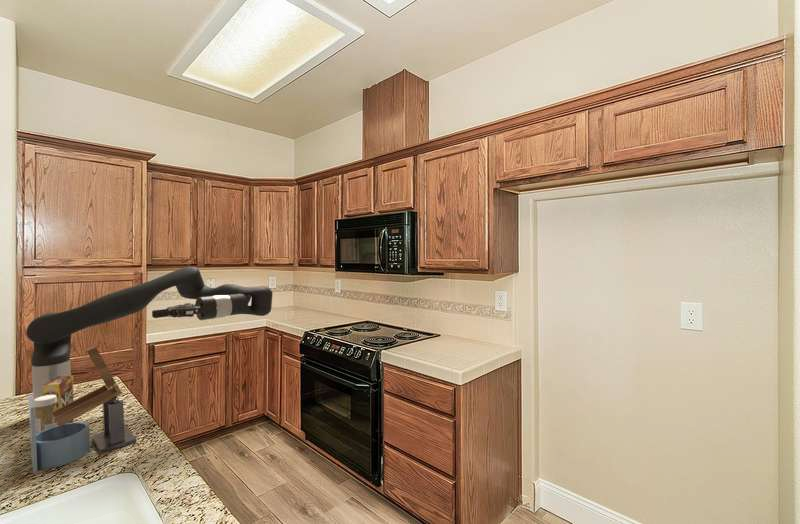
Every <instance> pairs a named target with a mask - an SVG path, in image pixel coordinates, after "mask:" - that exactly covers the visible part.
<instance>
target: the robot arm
mask: <svg viewBox="0 0 800 524" xmlns="http://www.w3.org/2000/svg"><path fill="white" fill-rule="evenodd" d="M173 287H175V288H176V291H177V293H178V294H179V295H180V296H181V297H182V298H185V299H189V300H195V304H194V303H190V302H188V303H184V304H177V305H172V306H168V307H166V308H162V309H155V310H152V311H151V313H152V314H151V316H152V318H153V319H159V318H185V317H187V318H192V317H195V315H196V318H197V319H198V320H200V321H207V320H212V319H219V318H225V317H229V316H234V315H252V316H258V317H264V316H267V315H269V314H270V313H271V311H272V308H273V307H272V306H273V291H272V289H271V288H270V287H268V286H254V287H253V286H252V287H249V286H241V285H237V284H235V283H234V284H233V283H232V284H231V283H225V284H222V285H220V286H219V285H218V286H217V287H210V286H208V285H205V282H204V279H203V277H202V275H201V271H200V269H199V267H196V266H186V267H185V266H184V267H183V268H182V267H181V268H179V269H176V270H174V271H171V272H169V273H167V274H163V275H162V276H160V277H159V276H158V277H157V278H153V279H151V280H148V281H146V282H143V283H140V284H137V285H134V286H129V287H126V288H123V289H120V290H117V291H113V292H111V293H108V294H105V295H104V296H100V297H99V298H96V299H94V300H91V301H90V302H86V303H85V304H82V305H80V306H78V307H75V308H71V309H68V310H64V311H60V312H48V313H45V314H41V315H39V316H38V317H36V318H34V319H33V320H32V321H31V322H30V323H28V326H27V328H26V331H25V333H26V337H27V339H29V340H30V341H31V342H33V353H32V355H31V358H30V359H31V360H30V361H31V375H32V376H31V378H32V382H31V383H32V398H33V402H34V400H35V399H36V398H38V397H41V396H43V387H42V386H43V385H45V384H46V383H48V382H50V381H51V380H53V379H55V378H56V377H59V376H66V375H72V374H71V349H72V334H75V333H78V332H79V331H83V330H85V329H87V328H91V327H93V326H97V325H102V324H105V323H108V322H112V321H116V320H118V319H122V318H125V317H128V316H130V315H134V314H136V313H139V312H140V311H142V310H144V309H145V308H146V307H148V305H149V304H150V303H151V302H152V301H153V300H154V299H155V298H156V297H157V296H159V294H161V293H162V292H164V291H166V290H168V289H171V288H173ZM250 301H251V303H250ZM249 304H250V305H249Z"/></svg>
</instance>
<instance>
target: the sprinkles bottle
mask: <svg viewBox="0 0 800 524" xmlns="http://www.w3.org/2000/svg"><path fill="white" fill-rule="evenodd" d="M56 402H57V396H56V395H46V396H41V397H38V398H36V399H35V400H34V407H35V428H36V434H37V433H38V432H41V431H43V430H46V429H48V428H51V427H54V426H57V423H56V422H55V420H54V418H55V417H54V415H53V414H52V412H53V411H55V410H56Z"/></svg>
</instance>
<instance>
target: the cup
mask: <svg viewBox="0 0 800 524" xmlns="http://www.w3.org/2000/svg"><path fill="white" fill-rule="evenodd" d="M27 398H28V399H27V400H28V401H27V402H28V418H29V440H30V459H31V467H32V473H33V475H36V474H38V469H39V470H46V469H52V468H53V469H54V468H58V467H60V466H64V465H67V464H70V463H74V462H75V461H78V460H79V459H81V458H83V457H85V456H86V455H87V454H88V453H89V452H90V451H91V435H90V434H91V432H90V425H89V423H88V422H86V421H85V422H83V421H76V422H75V421H74V422H73V423H66V424H64V425H62V426H61V427H59V426H54V427H51V428H48V429H46V430H43V431H41V432H38V433H37V434H36V426H35V407H34V402H33V395H28V396H27Z"/></svg>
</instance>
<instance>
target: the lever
mask: <svg viewBox="0 0 800 524" xmlns="http://www.w3.org/2000/svg"><path fill="white" fill-rule="evenodd" d="M85 351H86V353H87V355H88V357H89V358H90V359H91V361H92V364H93V365H94V367H95V368H96V371H97V372H98V374H99V376H100V377H101V380H102V382H103V383H104V385H102V386H100V387H98V388H96V389H94V390H92V391H90V392H88V393H86V394H84V395H83V396H80V397H78V398H77V399H75V400H73V402H71V403H69V404H67V405H65V406H63V407H61V408H59V409H57V410H55V411H53V412H52V414H53V415H54V417H55V418H54V420H55V422H56V423H57V425H58V426H59V427H61V426H62V425H64V424H66V423H68V422H70V421H72V420H74V421H75V419H77V418H79V417H82V416H83V415H85V414H87V413H88V412H90V411H92V410H94V409H95V408H98V407H100V406H101V405H103V403H105V402H107V401H109V400H111V401H112V400H113V398H118V399H119V395H122V394H123V392H122V391H121V389H120V386H119V385H118V384H117V382H116V381H115V379H114V377H113V375H112V374H111V372H110V370H109V368H108V366H107V363H105V361H104V359H103V357H102V355H101V354H100V352H99V350H98V348H97V347H96V346H95V345H93V346H91V347H89V348H86V349H85ZM112 402H113V401H112Z"/></svg>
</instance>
